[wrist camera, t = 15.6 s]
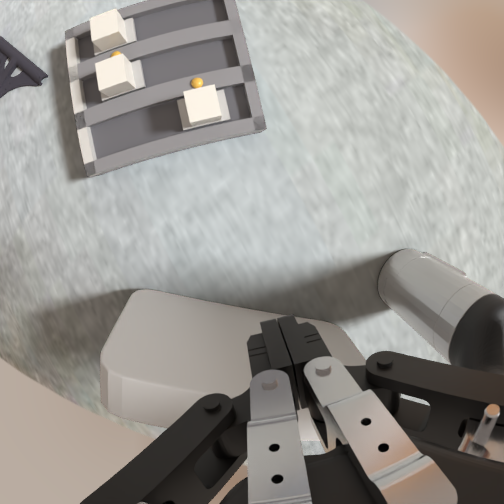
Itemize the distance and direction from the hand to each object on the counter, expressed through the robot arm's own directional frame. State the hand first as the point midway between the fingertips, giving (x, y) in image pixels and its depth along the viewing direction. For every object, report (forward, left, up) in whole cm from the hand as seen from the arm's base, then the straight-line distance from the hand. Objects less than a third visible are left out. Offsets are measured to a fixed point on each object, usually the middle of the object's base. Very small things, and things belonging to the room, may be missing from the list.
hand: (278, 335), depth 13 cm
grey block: (+3, +14, -26) cm, 29 cm away
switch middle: (+9, -19, -22) cm, 31 cm away
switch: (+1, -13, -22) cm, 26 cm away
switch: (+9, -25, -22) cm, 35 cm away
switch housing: (+5, -19, -26) cm, 33 cm away
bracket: (+30, -27, -27) cm, 49 cm away
